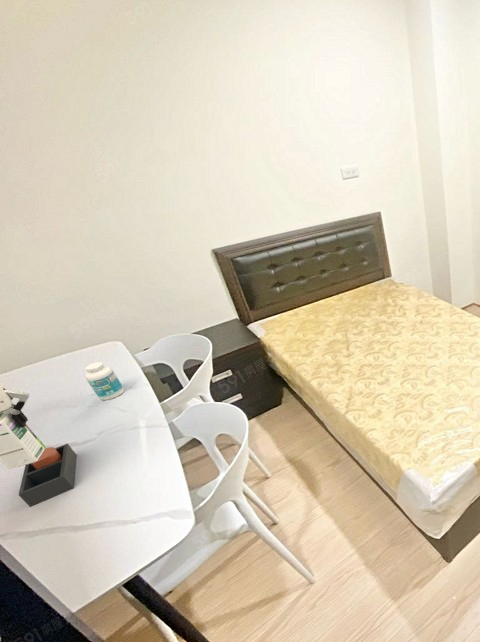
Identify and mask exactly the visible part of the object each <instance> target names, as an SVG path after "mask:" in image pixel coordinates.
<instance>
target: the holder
mask: <svg viewBox="0 0 480 642" xmlns="http://www.w3.org/2000/svg"><path fill="white" fill-rule="evenodd" d="M54 448H55V449H56V450H57V451H58V452H59V454H60V455H61V456H62V460H60V461H58V462H55V463H53V464H50V465H48V466H45V467H43V468H40V469H38V470H36V469H35V468H34V467H33V466H32V464H31V463H30V464H27V465H24V470H23V474H22V477H21V482H20V487H19V490H18V496H19V497H20V499H22V500H23V501H24V502H25V504H27V506H28V507H30V508H32V507H34V506H36V505H39V504H41V503H43V502H46V501H48V500H50V499H53V498H55V497H57V496H59V495H62V494H64V493H67V492H69V491H72V490H73V489H75V481H76V470H77V469H76V468H77V459H78V458H77V457H78V455H77V454H76V452H75V450H74V449H73V448H72V447H71V446H70V444H69V443H65V444H62V445H60V446H57V447H54Z"/></svg>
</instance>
